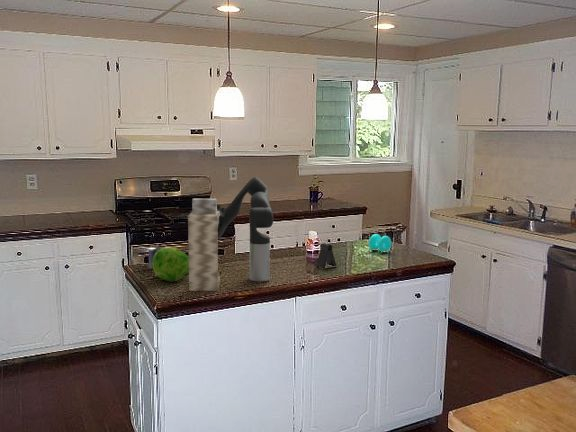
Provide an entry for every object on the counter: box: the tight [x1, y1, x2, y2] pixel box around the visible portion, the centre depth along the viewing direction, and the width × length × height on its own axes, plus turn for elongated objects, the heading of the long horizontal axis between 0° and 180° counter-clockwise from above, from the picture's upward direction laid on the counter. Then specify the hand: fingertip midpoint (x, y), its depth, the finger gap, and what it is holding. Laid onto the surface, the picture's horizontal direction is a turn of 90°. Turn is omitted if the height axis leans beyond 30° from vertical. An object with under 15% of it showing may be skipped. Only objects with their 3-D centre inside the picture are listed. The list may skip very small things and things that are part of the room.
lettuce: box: [152, 247, 189, 282], centre depth 242 cm, size 17×20×15 cm
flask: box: [148, 244, 167, 270], centre depth 264 cm, size 10×3×12 cm, turn 133°
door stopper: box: [315, 242, 337, 268], centre depth 270 cm, size 9×6×12 cm, turn 120°
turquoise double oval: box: [368, 233, 392, 252], centre depth 308 cm, size 10×10×10 cm
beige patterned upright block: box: [187, 211, 221, 292], centre depth 232 cm, size 12×16×32 cm
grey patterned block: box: [191, 197, 218, 214], centre depth 240 cm, size 10×23×6 cm, turn 4°
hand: (208, 206), depth 252 cm, fingers open, 8 cm apart
